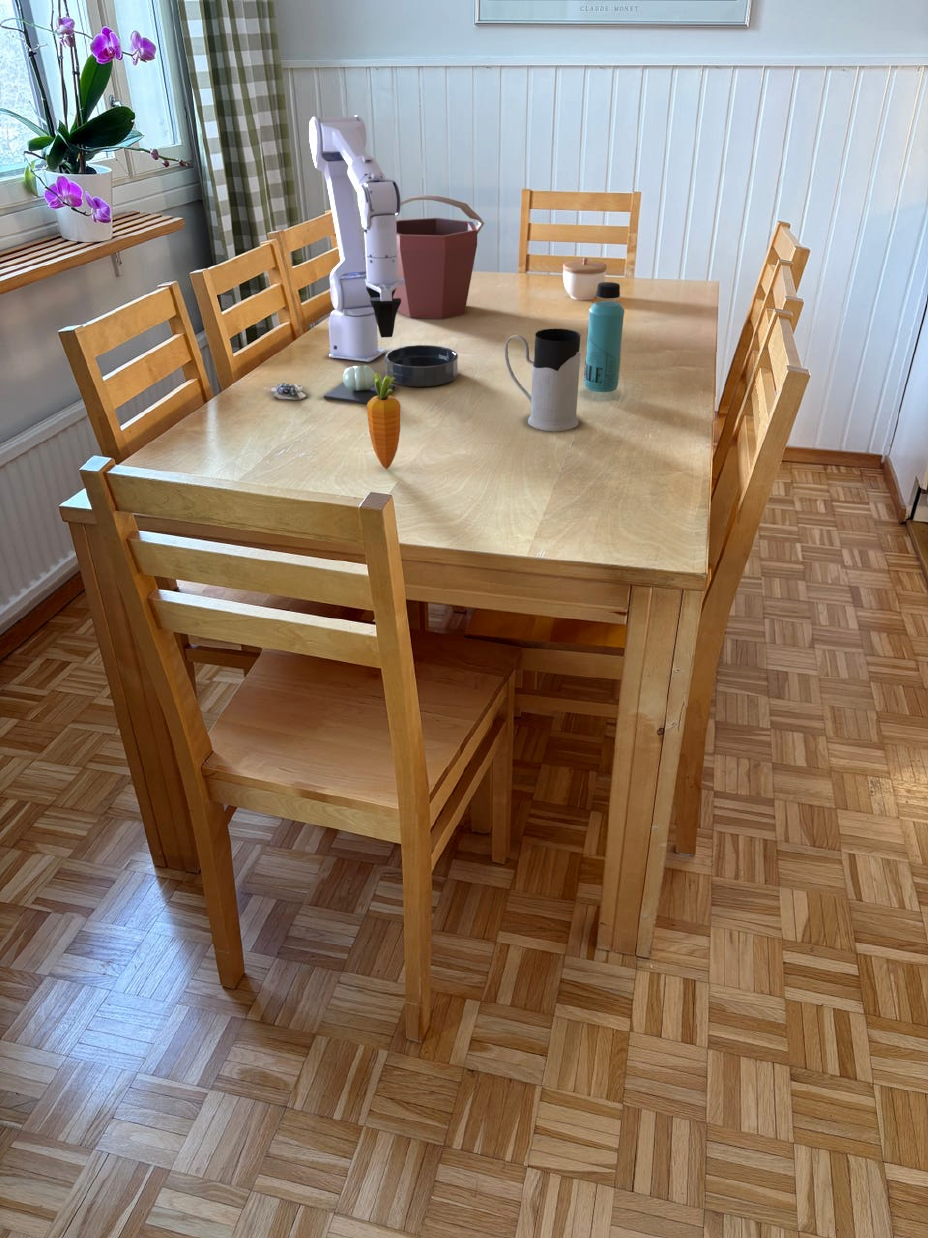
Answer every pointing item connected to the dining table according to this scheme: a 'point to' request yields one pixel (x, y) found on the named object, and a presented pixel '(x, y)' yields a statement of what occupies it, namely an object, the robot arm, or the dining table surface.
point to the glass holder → (552, 378)
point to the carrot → (384, 421)
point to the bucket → (435, 262)
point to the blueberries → (288, 391)
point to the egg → (359, 378)
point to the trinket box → (583, 278)
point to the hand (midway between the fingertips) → (384, 330)
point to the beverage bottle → (604, 340)
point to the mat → (353, 394)
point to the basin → (421, 365)
